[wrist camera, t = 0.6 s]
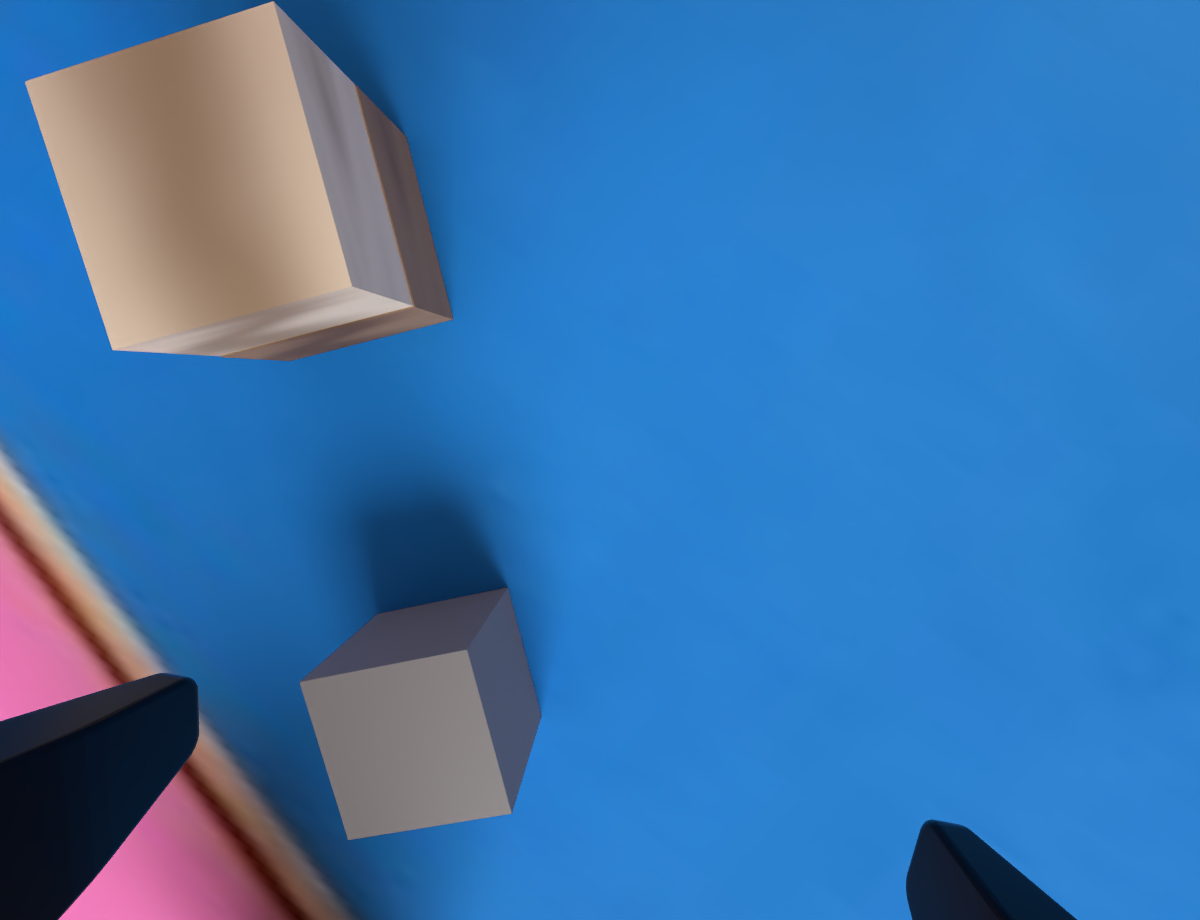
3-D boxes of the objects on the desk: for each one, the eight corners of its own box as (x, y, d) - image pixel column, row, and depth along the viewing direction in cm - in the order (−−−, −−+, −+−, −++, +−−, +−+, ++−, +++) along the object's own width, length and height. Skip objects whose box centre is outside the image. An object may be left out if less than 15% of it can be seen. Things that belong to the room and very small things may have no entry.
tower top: (220, 356, 17) (112, 350, 14) (155, 144, 16) (24, 81, 13) (413, 306, 17) (352, 286, 13) (354, 83, 16) (273, 1, 12)
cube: (414, 737, 22) (348, 840, 17) (378, 612, 22) (299, 682, 17) (541, 714, 22) (511, 813, 17) (508, 586, 21) (466, 649, 16)
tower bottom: (292, 360, 21) (221, 357, 17) (241, 186, 20) (156, 145, 16) (454, 319, 20) (414, 306, 17) (407, 137, 19) (356, 85, 16)
